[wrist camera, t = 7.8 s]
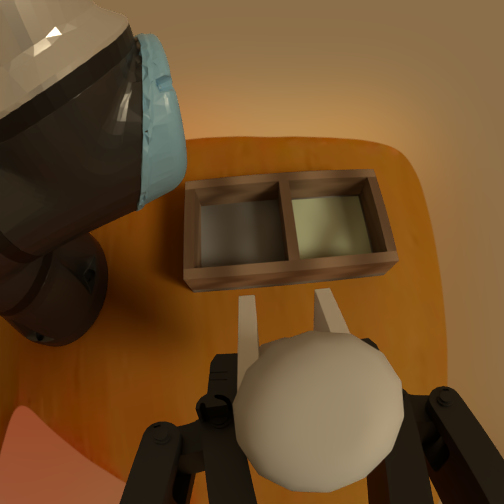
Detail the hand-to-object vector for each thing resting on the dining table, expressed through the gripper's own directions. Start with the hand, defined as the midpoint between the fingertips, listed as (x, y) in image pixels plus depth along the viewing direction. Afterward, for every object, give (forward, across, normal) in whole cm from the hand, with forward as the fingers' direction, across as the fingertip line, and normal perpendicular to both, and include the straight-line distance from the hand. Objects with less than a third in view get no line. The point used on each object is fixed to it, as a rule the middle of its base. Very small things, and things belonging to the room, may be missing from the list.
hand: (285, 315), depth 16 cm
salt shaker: (0, 0, -6) cm, 6 cm away
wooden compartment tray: (+18, +2, -3) cm, 19 cm away
